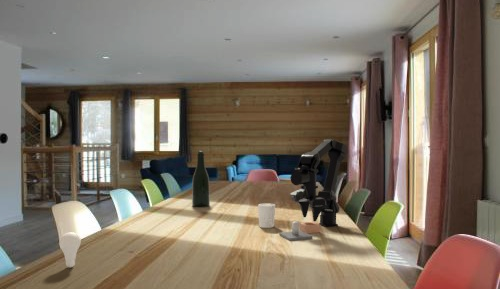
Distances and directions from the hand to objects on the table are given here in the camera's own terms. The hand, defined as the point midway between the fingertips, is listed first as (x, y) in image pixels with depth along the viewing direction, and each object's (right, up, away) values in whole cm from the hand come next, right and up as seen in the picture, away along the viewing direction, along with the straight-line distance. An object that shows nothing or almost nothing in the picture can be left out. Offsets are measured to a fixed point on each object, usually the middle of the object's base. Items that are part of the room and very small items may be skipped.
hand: (309, 219), depth 172 cm
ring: (0, -5, 0) cm, 5 cm away
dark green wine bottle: (-55, -5, +68) cm, 87 cm away
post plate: (-7, -5, -10) cm, 13 cm away
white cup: (-18, -5, +10) cm, 21 cm away
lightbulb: (-82, -6, -48) cm, 95 cm away
